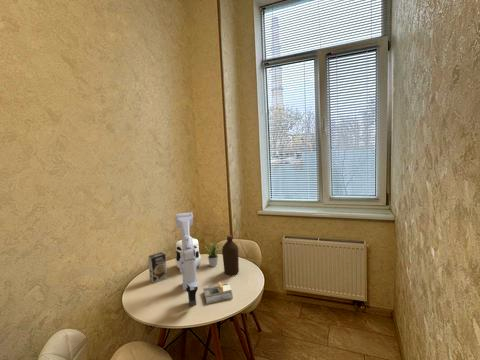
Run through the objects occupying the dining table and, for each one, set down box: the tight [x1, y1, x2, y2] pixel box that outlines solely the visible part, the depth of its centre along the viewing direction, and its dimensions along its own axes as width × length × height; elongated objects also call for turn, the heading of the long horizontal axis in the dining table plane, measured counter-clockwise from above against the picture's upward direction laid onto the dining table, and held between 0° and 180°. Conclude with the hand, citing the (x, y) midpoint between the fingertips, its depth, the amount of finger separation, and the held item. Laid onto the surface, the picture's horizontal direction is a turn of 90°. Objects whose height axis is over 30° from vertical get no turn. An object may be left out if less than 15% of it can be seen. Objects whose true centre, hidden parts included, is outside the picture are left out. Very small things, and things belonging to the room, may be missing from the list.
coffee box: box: [147, 252, 168, 284], centre depth 162 cm, size 9×6×16 cm
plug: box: [187, 293, 197, 307], centre depth 132 cm, size 4×4×8 cm
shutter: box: [218, 281, 233, 293], centre depth 140 cm, size 6×6×3 cm
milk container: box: [175, 238, 202, 270], centre depth 179 cm, size 17×17×18 cm
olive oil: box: [221, 234, 240, 277], centre depth 165 cm, size 11×11×25 cm
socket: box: [202, 283, 234, 305], centre depth 139 cm, size 12×14×3 cm
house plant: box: [204, 241, 223, 267], centre depth 179 cm, size 14×14×16 cm
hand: (192, 296), depth 132 cm, fingers open, 7 cm apart
